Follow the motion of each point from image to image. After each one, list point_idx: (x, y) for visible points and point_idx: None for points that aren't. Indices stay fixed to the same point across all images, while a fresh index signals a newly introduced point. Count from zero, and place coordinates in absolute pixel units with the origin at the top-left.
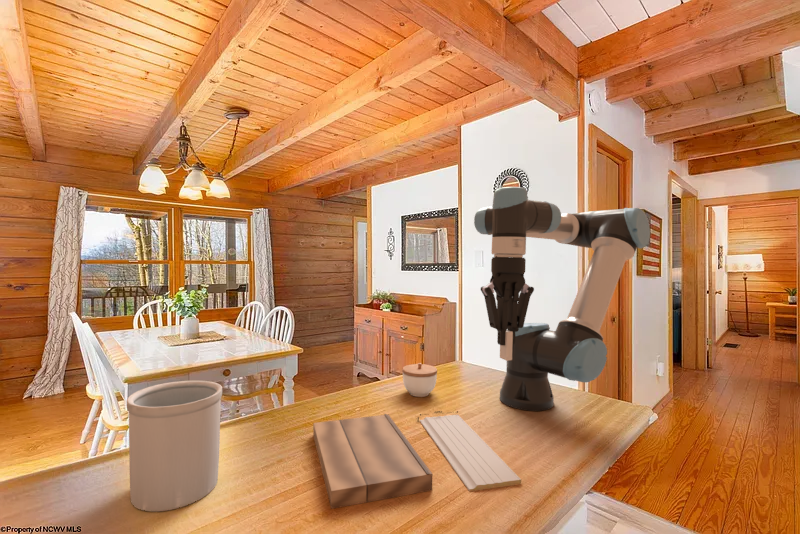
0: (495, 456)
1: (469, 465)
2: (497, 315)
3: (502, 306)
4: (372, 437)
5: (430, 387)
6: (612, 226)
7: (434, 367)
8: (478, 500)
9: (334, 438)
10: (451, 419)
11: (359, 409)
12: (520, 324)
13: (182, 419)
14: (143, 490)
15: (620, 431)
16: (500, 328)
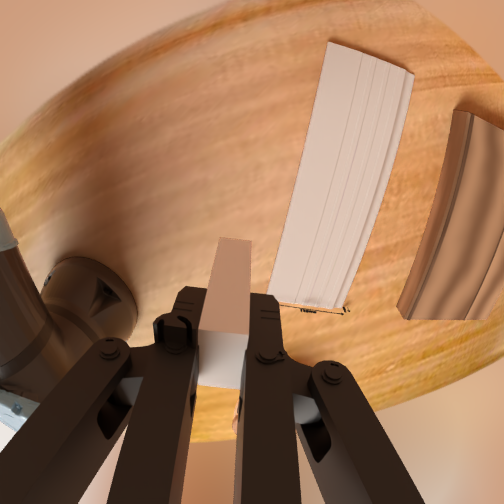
0: (317, 120)
1: (381, 121)
2: (355, 451)
3: None
4: (470, 253)
5: None
6: None
7: (235, 426)
8: (414, 52)
9: (498, 270)
10: (292, 286)
11: (390, 365)
12: (114, 357)
13: None
14: None
15: (17, 139)
16: (292, 370)
